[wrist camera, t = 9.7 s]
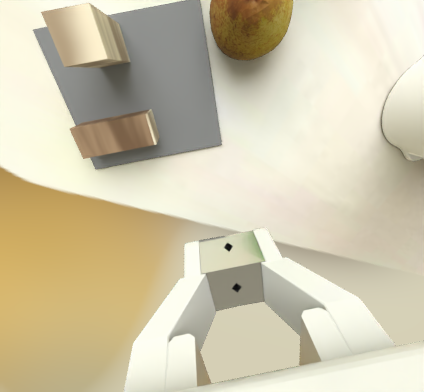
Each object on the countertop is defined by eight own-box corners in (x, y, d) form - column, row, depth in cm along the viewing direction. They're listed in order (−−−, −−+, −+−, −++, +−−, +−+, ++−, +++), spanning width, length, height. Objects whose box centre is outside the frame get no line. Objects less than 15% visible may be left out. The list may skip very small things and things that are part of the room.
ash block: (119, 24, 28) (89, 2, 19) (130, 61, 30) (107, 58, 21) (86, 30, 28) (41, 12, 19) (100, 67, 30) (64, 66, 21)
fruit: (287, 36, 30) (341, 18, 20) (227, 75, 32) (247, 77, 21) (261, -44, 26) (310, -118, 16) (194, 5, 28) (199, -33, 17)
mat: (199, -2, 28) (199, -3, 27) (221, 143, 36) (221, 144, 36) (34, 30, 28) (32, 29, 27) (96, 168, 36) (95, 169, 36)
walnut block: (147, 113, 29) (69, 129, 29) (156, 144, 31) (83, 158, 31) (151, 109, 33) (82, 122, 33) (159, 136, 35) (93, 149, 34)
